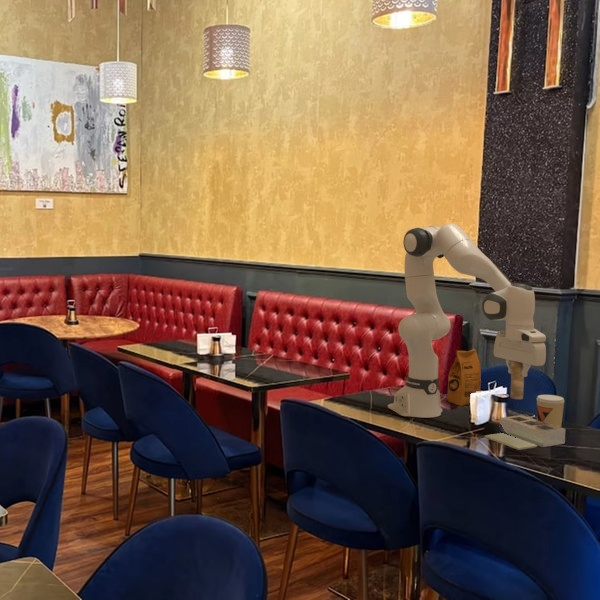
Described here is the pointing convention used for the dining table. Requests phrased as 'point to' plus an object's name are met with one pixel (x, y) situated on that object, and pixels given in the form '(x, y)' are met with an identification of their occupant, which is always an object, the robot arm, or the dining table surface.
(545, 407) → the coffee cup
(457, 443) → the dining table surface
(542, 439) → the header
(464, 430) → the dining table surface
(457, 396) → the coffee package
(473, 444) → the dining table surface
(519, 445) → the mat
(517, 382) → the plug
